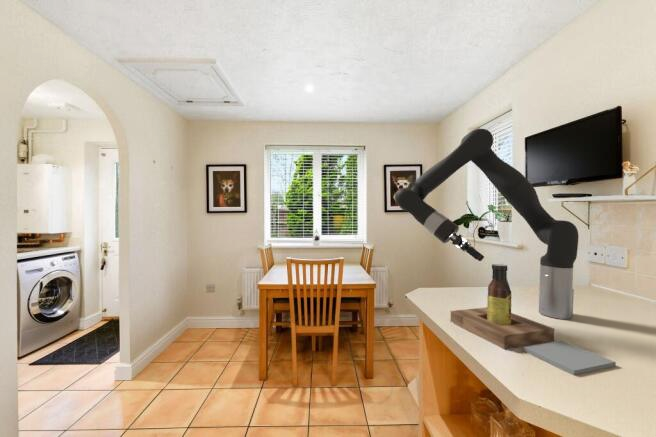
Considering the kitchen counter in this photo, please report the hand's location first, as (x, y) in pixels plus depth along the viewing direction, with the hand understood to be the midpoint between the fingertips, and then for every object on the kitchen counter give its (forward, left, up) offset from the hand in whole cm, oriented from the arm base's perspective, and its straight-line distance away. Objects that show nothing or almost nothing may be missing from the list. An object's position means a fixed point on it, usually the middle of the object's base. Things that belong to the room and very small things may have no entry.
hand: (480, 258), depth 96 cm
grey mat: (-2, +25, -21) cm, 33 cm away
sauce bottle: (0, +7, -21) cm, 22 cm away
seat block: (0, +7, -21) cm, 22 cm away
